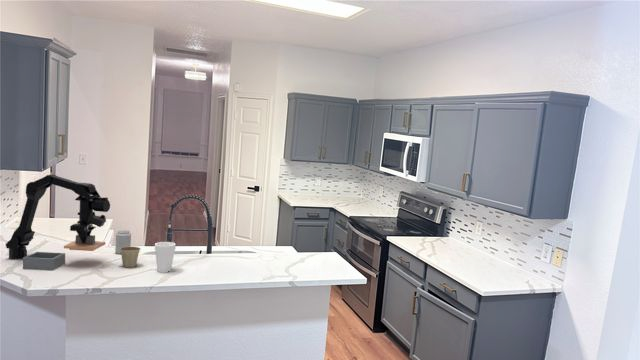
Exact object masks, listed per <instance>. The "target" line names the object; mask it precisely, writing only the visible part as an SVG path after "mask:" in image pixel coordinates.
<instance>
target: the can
mask: <svg viewBox="0 0 640 360" xmlns="http://www.w3.org/2000/svg"><path fill="white" fill-rule="evenodd" d="M116 232H117V233H116V234H115V247H114V248H115V253H116V254H118V255H121V251H120V248H122V247H132V246H131V243H132V242H131V241H132V233H130V230H127V229H125V230H124V229H123V230H118V231H116Z"/></svg>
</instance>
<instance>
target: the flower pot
mask: <svg viewBox="0 0 640 360" xmlns="http://www.w3.org/2000/svg"><path fill="white" fill-rule="evenodd" d="M120 251H121V254H120V255H121V263H122V267H124V268H127V267H129V268H133V267H136V266H137V264H138V258H139V253H140V251H141V247H139V246H131V247H122V248H120Z"/></svg>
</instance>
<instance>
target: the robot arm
mask: <svg viewBox="0 0 640 360" xmlns="http://www.w3.org/2000/svg"><path fill="white" fill-rule="evenodd" d="M25 186H26V187H25V194H26V195H25V196H26V202H25V205H24V208H23V211H22V216H21V219H20V223H19V226H18V227H17V228H16V229H15V230H14V232H13V234H12V235H11V238H10V239H9V240H8V241H7V242H6V243H5V247H6V249H8V259H10V260H23V257H26V256H28V249H27V246H29V244H30V243H31V241H32V240H33V239H34V235H35V233H36V232H35V231H34V230H33V229H32V226H33V222H34V218H35V215H36V212H37V208H38V205H39V202H40V200H41V199H42V198H43V196H44V195H45V193H46V191H47V190H48V189H49V188H50V187H52V186H56V187H61V188H63V189H67V190H71V192H74V194H76V195H78V196H77V197H76V198H75V199H74V200H75V201H79V211H78V212H77V216H79V217H78V220H77V222H76V223H73V224H71V225H70V227H69V231H70V232H76V234H77V235H79V237H80V239H81V241H82V243H85V242H86V237H87V235H92V231H93V230H95V229H96V227H98V228H101V227H103V226H104V225H105V223H106V222H107V219H106V218H107V217H106V215H104V214H101V215H96V212H102V213H108V211H110V208H111V203H110V200H109V197H102V196H101V195H100V194H99V192H98V191H97V188H96V185H95V184H93V183H89V182H78V181H74V180H71V179H68V178H65V177H61V176H57V175H56V174H47V175H45V176H44V177H41V178H39V179H37V180H34V181H30V182H28V183H27V184H26V185H25ZM94 225H95V226H94Z"/></svg>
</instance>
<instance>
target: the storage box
mask: <svg viewBox="0 0 640 360" xmlns="http://www.w3.org/2000/svg"><path fill="white" fill-rule="evenodd" d="M65 264H66V253H65V252H50V251H35V252H33V253H31V254H29V255H28V254H27V256H26V257H23V259H22V269H23V270H33V271H35V270H38V271H54V270H57V269H58V268H60V267H62V266H64V265H65Z"/></svg>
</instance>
